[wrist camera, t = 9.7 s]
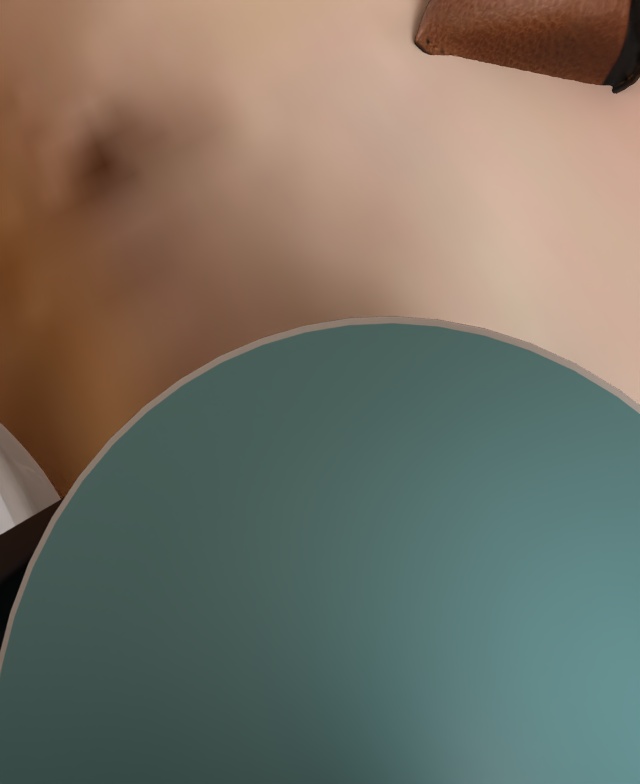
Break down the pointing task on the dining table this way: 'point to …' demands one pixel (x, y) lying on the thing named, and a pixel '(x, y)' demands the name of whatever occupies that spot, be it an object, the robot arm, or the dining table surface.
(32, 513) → the serving bowl
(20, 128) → the dining table surface
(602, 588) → the teal peg
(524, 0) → the sunglasses case
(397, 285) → the dining table surface
